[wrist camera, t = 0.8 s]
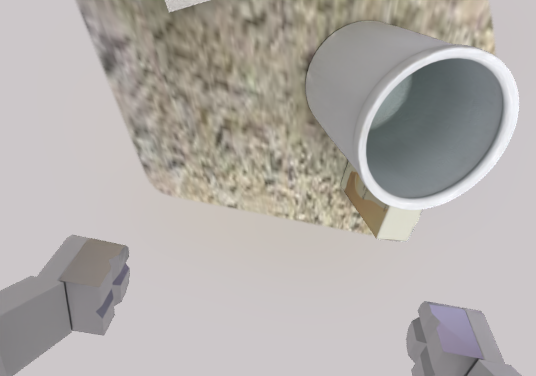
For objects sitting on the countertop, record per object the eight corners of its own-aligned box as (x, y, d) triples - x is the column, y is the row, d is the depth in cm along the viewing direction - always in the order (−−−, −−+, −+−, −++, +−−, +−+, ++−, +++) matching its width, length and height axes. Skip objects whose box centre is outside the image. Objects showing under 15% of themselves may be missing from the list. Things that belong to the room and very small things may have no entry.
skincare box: (353, 145, 55) (396, 191, 44) (382, 149, 56) (431, 195, 45) (338, 187, 58) (375, 240, 47) (366, 191, 59) (408, 243, 48)
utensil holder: (441, 64, 52) (551, 112, 37) (361, 158, 56) (431, 234, 41) (359, -14, 45) (452, 5, 30) (276, 98, 49) (322, 163, 35)
